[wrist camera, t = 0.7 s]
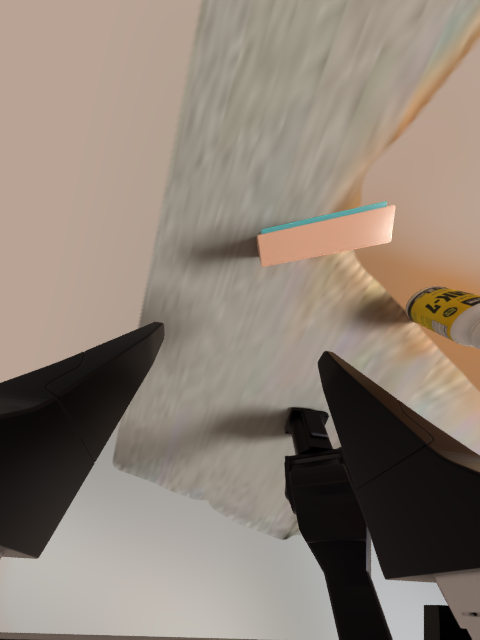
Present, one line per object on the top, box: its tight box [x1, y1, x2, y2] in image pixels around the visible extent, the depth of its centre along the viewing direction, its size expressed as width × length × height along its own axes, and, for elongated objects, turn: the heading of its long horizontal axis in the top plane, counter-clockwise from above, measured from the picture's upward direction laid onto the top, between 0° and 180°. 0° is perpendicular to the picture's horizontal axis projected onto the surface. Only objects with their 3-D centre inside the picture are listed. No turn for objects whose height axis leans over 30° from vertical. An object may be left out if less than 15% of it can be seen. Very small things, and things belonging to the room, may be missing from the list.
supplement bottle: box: [406, 286, 480, 349], centre depth 18 cm, size 5×5×8 cm
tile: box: [256, 201, 396, 267], centre depth 15 cm, size 2×8×10 cm, turn 101°
